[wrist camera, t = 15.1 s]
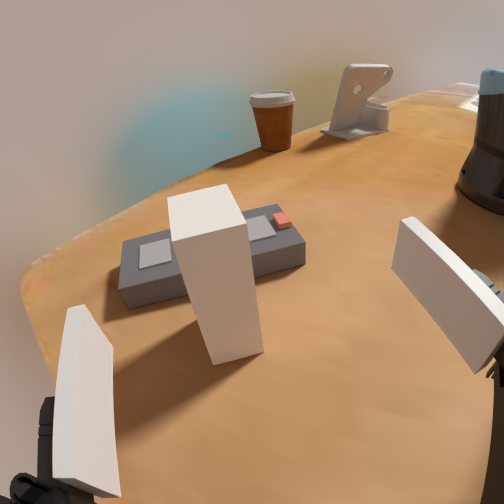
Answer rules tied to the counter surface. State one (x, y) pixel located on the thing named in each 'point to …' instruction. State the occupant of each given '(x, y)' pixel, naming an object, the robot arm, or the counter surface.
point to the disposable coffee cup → (273, 118)
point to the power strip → (168, 271)
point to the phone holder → (360, 103)
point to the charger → (217, 271)
